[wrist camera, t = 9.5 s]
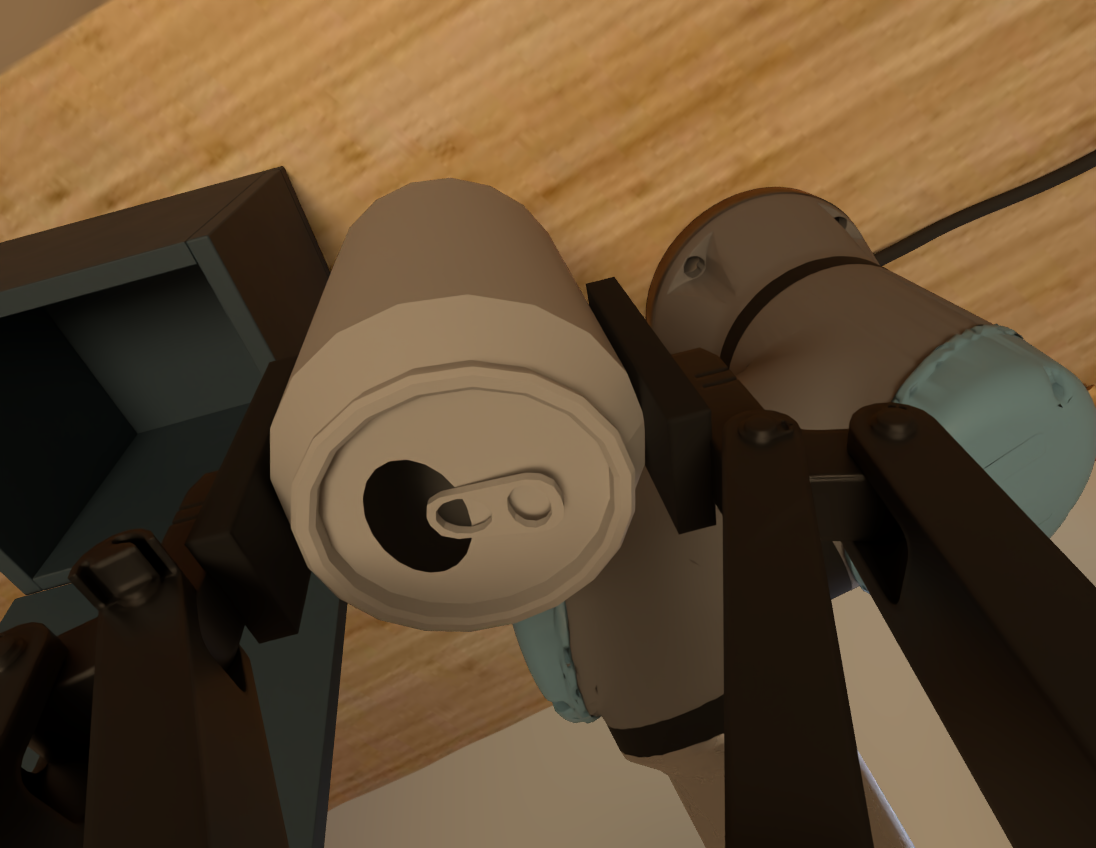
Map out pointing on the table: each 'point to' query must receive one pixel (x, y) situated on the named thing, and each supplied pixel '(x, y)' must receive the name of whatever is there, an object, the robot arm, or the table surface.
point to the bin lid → (259, 695)
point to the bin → (139, 359)
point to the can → (455, 418)
